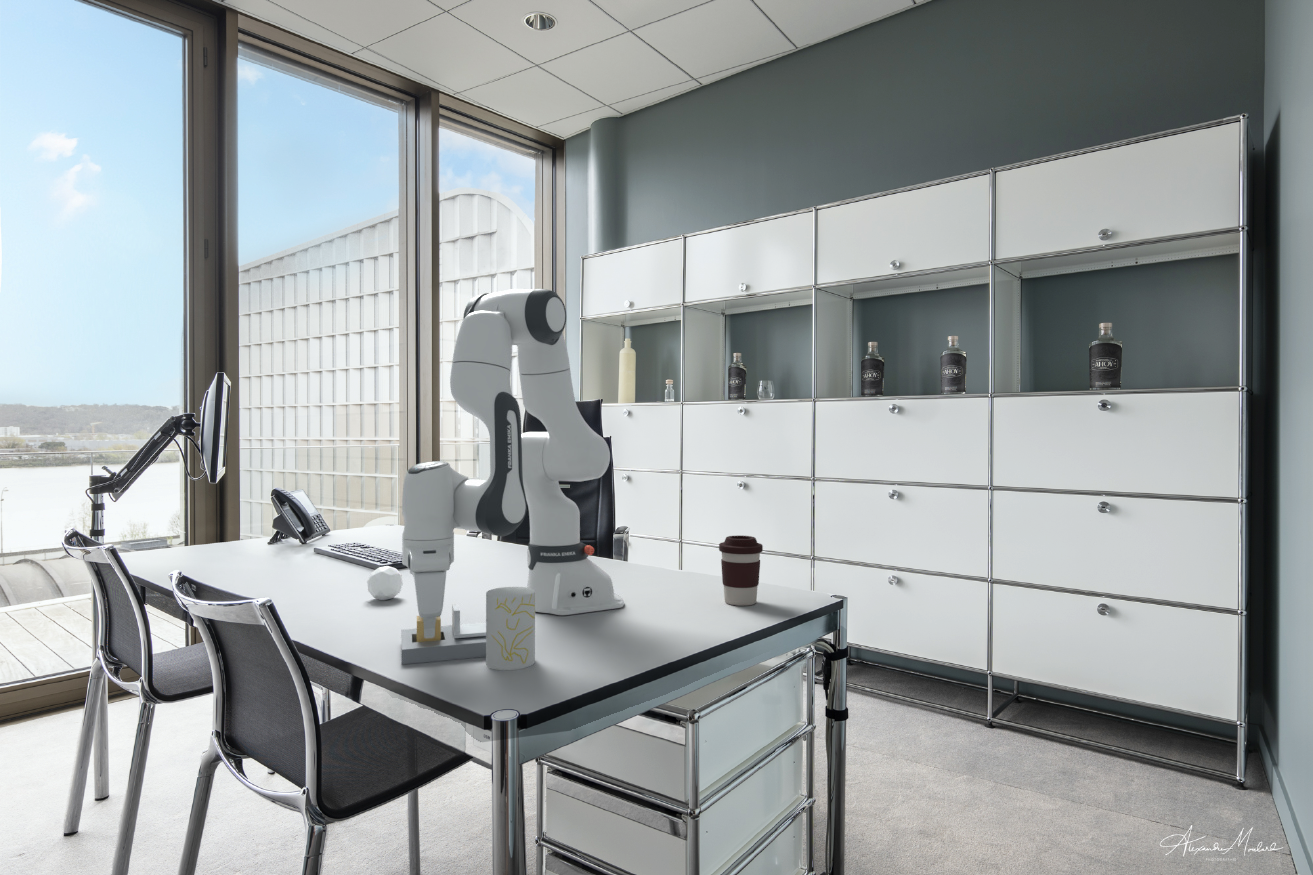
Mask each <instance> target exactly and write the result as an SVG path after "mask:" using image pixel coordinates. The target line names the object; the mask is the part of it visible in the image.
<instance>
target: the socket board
mask: <svg viewBox="0 0 1313 875" xmlns="http://www.w3.org/2000/svg"><path fill="white" fill-rule="evenodd" d="M400 634H401V637H400V638H401V642H400V643H401V644H400V645H401V665H410V664H411V665H412V664H419V663H420V664H421V663H422V664H423V663H430V662H431V663H432V662H442V661H452V660H453V661H454V660H462V659H464V660H465V659H474V658H484V657H485V658H486V636H477V637H465V638H454V634H453V631H452V625H443V626H441V640H436V641H425V642H417V627H416V628H406V629H405V628H404V629H401V633H400Z"/></svg>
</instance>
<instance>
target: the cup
mask: <svg viewBox="0 0 1313 875" xmlns="http://www.w3.org/2000/svg"><path fill="white" fill-rule="evenodd" d="M485 599H486V600H485V602H486V603H485V622H486V657H485V665H486V666H487V667H488V668H489V669H493V670H498V671H514V670H516V671H517V670H522V669H525V668H528V667H530V666H533V665H534V664H535V663H536V612H535V590H534V589H531V588H527V586H503V587H502V586H501V587H497V588H492V589H490V590H488V591H486V592H485Z"/></svg>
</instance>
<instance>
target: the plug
mask: <svg viewBox="0 0 1313 875" xmlns="http://www.w3.org/2000/svg"><path fill="white" fill-rule="evenodd" d="M441 621H442V620H441V616H439V617H436V624H435V637H433V638H425V637H424V623H423V618H421V617H420V616H419V615H416V628H417V642H425V641H436V640H441V625H442V622H441Z"/></svg>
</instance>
